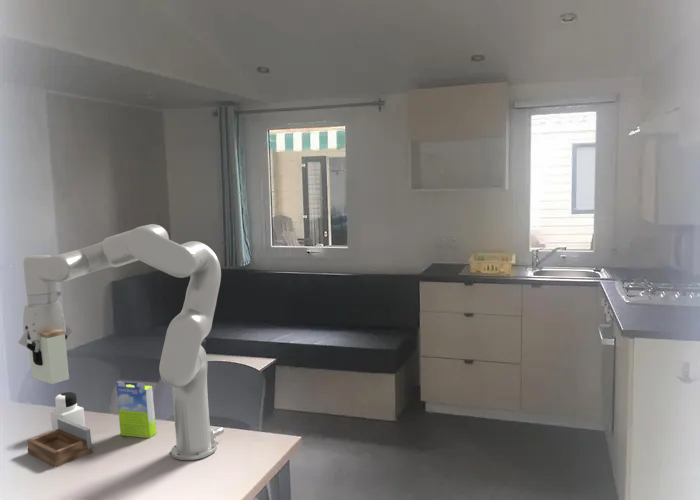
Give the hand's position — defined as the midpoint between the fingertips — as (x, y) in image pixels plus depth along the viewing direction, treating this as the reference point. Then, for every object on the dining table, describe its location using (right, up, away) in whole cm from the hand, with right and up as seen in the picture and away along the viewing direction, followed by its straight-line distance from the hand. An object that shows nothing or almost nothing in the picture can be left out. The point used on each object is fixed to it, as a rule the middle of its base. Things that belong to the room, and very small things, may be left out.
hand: (48, 361), depth 173 cm
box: (+20, -25, +14) cm, 36 cm away
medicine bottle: (-3, -26, +20) cm, 32 cm away
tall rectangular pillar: (0, -5, +1) cm, 5 cm away
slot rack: (+1, -27, +4) cm, 28 cm away
